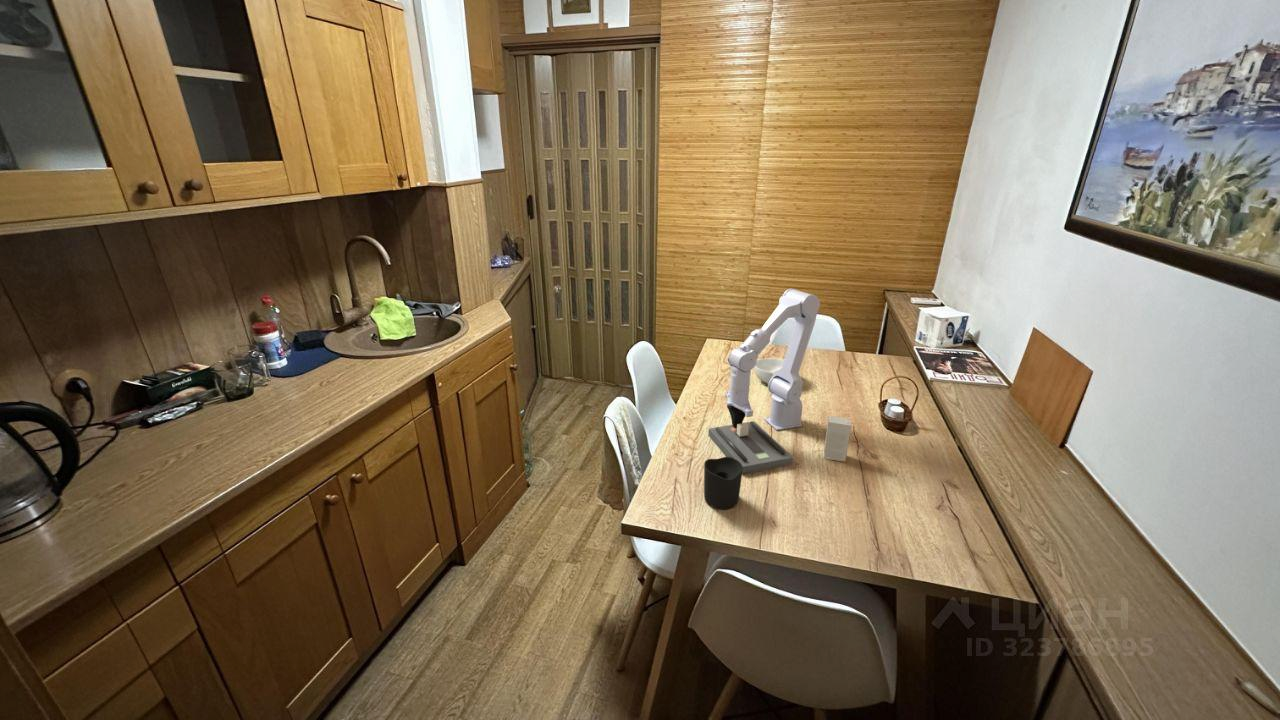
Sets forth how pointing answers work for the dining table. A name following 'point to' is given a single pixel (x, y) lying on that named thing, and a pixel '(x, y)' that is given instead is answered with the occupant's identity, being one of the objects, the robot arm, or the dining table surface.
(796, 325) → the robot arm
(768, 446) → the breaker panel
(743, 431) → the breaker toggle
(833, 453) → the skincare box
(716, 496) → the pen holder
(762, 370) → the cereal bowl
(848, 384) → the dining table surface
